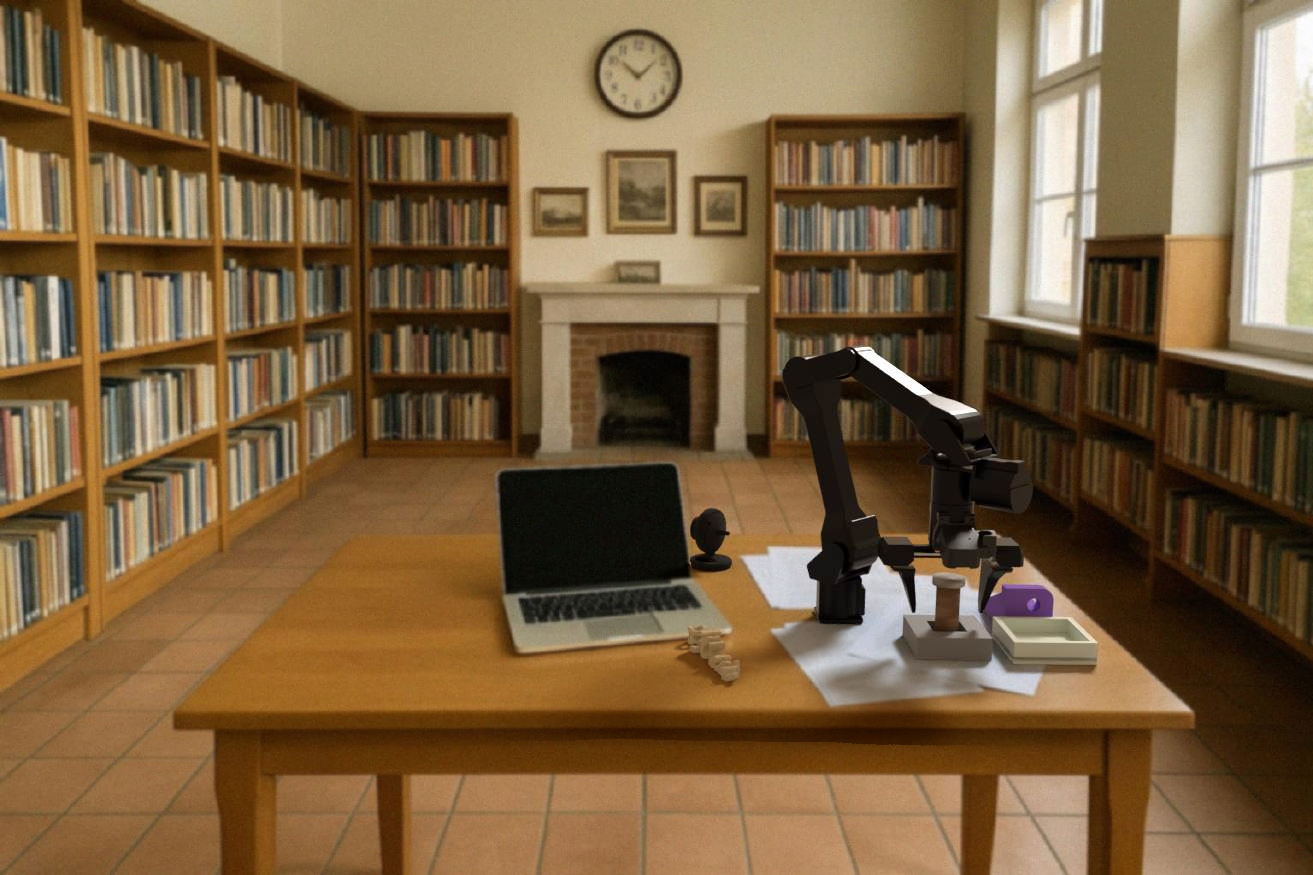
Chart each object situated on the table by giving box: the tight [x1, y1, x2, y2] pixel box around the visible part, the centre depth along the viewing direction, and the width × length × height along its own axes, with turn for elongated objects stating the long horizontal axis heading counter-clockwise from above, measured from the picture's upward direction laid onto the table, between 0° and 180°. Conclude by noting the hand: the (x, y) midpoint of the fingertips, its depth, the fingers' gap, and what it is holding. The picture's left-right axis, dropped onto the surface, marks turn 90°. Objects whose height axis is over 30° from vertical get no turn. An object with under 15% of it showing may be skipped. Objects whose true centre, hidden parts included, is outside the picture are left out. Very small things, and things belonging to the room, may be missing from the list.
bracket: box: [984, 583, 1055, 621], centre depth 181 cm, size 12×7×7 cm, turn 0°
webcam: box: [689, 507, 733, 572], centre depth 209 cm, size 8×8×10 cm
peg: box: [931, 572, 967, 632], centre depth 168 cm, size 4×4×10 cm
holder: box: [902, 614, 994, 661], centre depth 169 cm, size 10×10×3 cm
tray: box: [991, 616, 1099, 666], centre depth 167 cm, size 11×11×3 cm
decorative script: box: [687, 624, 741, 683], centre depth 163 cm, size 17×4×3 cm, turn 19°
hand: (946, 612), depth 168 cm, fingers open, 9 cm apart
